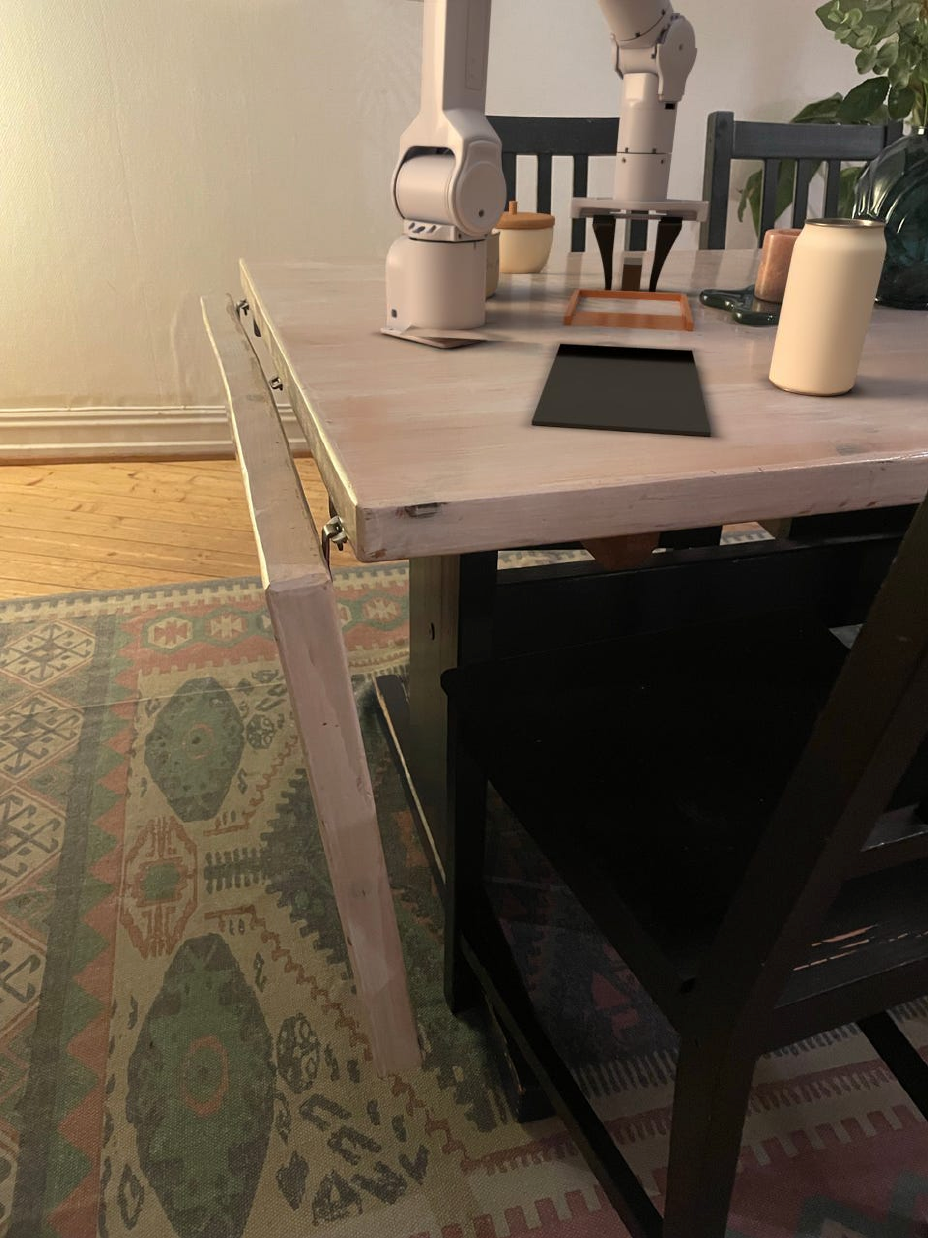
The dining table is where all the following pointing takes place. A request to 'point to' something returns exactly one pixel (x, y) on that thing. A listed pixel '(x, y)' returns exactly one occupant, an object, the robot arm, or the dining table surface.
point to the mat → (623, 391)
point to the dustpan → (630, 291)
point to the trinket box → (524, 240)
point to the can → (827, 305)
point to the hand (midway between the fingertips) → (630, 290)
